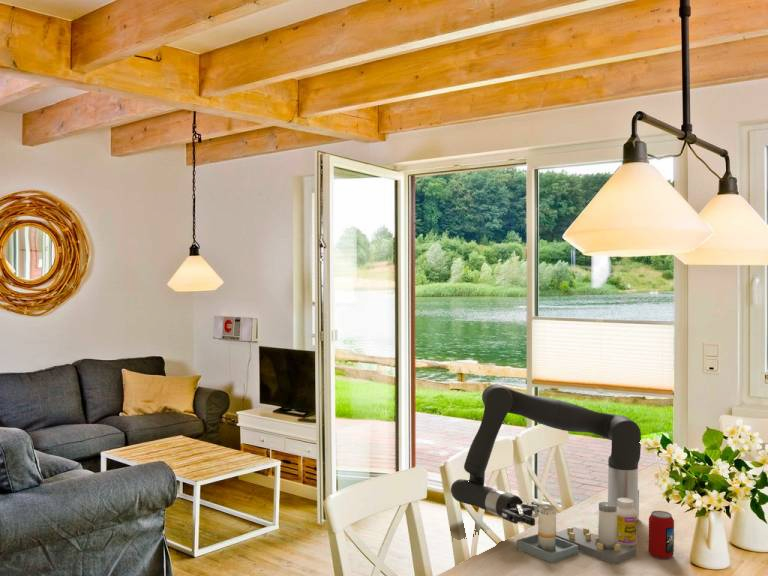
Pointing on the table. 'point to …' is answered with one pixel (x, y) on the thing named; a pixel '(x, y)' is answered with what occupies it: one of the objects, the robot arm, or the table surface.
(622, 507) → the supplement bottle
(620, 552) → the block
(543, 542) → the marked fuse
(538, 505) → the robot arm
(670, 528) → the beverage can
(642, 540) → the table surface
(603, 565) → the table surface
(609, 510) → the cylinder
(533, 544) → the tray
